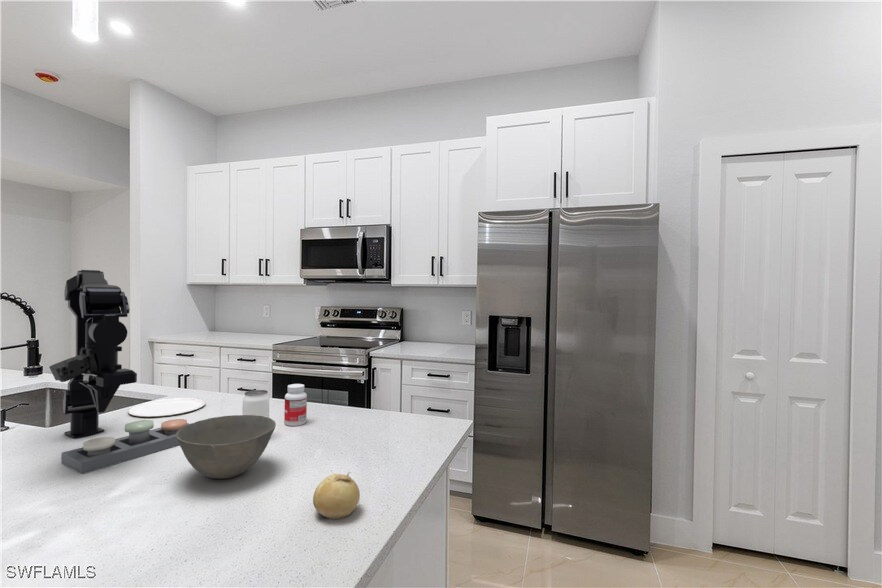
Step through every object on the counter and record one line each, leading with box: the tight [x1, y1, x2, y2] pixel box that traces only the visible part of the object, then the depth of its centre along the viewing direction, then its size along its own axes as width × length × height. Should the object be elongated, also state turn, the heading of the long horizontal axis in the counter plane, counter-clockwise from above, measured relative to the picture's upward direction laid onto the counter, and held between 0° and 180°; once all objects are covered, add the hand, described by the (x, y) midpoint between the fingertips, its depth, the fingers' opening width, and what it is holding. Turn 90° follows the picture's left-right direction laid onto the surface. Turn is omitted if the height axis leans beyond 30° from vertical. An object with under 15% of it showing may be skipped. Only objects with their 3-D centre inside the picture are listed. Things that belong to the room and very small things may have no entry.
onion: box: [312, 471, 361, 519], centre depth 75 cm, size 8×8×7 cm
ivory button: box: [82, 436, 116, 458], centre depth 94 cm, size 6×6×4 cm
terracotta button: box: [160, 418, 188, 436], centre depth 108 cm, size 6×6×4 cm
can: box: [241, 389, 270, 418], centre depth 111 cm, size 6×6×12 cm
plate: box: [127, 397, 206, 418], centre depth 135 cm, size 21×21×1 cm
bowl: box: [176, 414, 277, 480], centre depth 89 cm, size 19×19×10 cm
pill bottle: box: [283, 383, 308, 427], centre depth 123 cm, size 6×6×11 cm
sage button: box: [124, 419, 155, 444], centre depth 101 cm, size 6×6×4 cm
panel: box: [60, 422, 190, 475], centre depth 101 cm, size 10×26×2 cm, turn 150°
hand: (101, 412), depth 94 cm, fingers closed
